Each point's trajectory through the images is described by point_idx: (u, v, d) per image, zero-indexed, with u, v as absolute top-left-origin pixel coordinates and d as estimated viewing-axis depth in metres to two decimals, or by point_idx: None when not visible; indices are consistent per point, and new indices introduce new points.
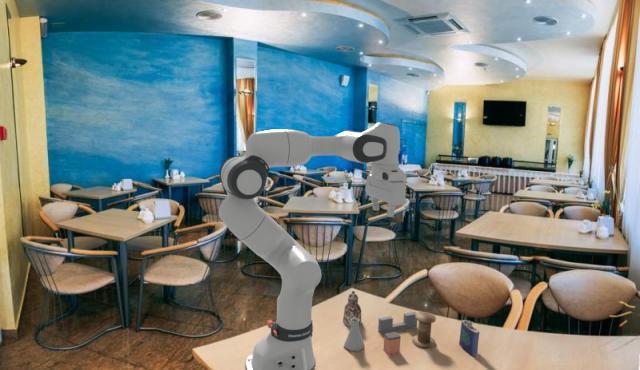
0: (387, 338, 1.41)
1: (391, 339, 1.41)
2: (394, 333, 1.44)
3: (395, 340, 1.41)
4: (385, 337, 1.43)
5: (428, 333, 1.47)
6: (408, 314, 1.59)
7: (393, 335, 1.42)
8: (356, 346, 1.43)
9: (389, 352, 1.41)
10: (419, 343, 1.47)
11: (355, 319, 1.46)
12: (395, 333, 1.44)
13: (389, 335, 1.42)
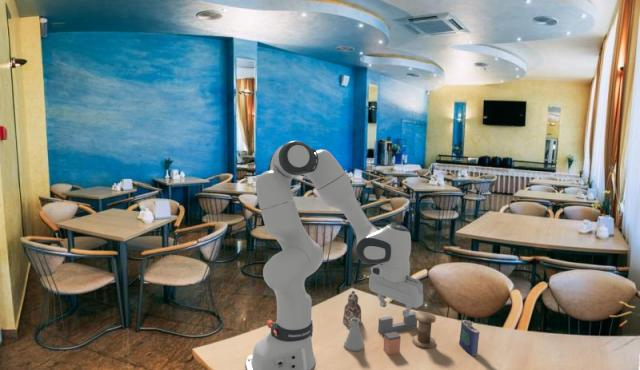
0: (387, 338, 1.41)
1: (391, 339, 1.41)
2: (394, 333, 1.44)
3: (395, 340, 1.41)
4: (385, 337, 1.43)
5: (428, 333, 1.47)
6: None
7: (393, 335, 1.42)
8: (356, 346, 1.43)
9: (389, 352, 1.41)
10: (419, 343, 1.47)
11: (355, 319, 1.46)
12: (395, 333, 1.44)
13: (389, 335, 1.42)
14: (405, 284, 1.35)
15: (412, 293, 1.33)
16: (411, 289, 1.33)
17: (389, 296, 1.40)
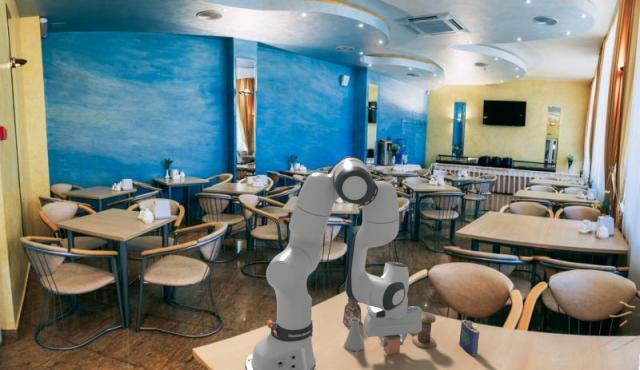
0: (387, 338, 1.41)
1: (391, 339, 1.41)
2: None
3: (395, 340, 1.41)
4: (385, 337, 1.43)
5: (428, 333, 1.47)
6: None
7: (393, 335, 1.42)
8: (356, 346, 1.43)
9: (389, 352, 1.41)
10: (419, 343, 1.47)
11: (355, 319, 1.46)
12: None
13: (389, 335, 1.42)
14: (409, 315, 1.41)
15: (417, 320, 1.42)
16: (416, 317, 1.41)
17: (391, 333, 1.40)
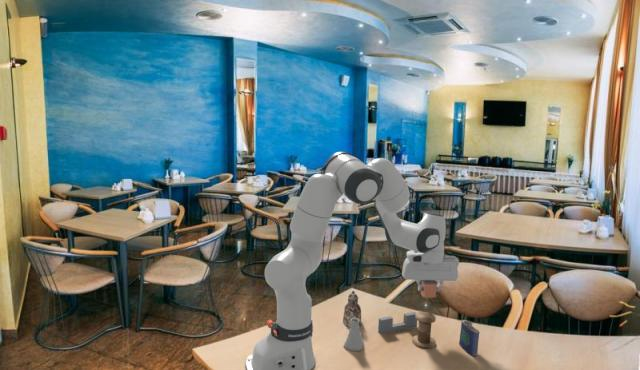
0: (424, 282, 1.54)
1: (427, 283, 1.53)
2: None
3: (431, 285, 1.54)
4: (422, 282, 1.56)
5: (428, 333, 1.47)
6: (408, 314, 1.59)
7: (430, 281, 1.54)
8: (356, 346, 1.43)
9: (425, 295, 1.54)
10: (419, 343, 1.47)
11: (355, 319, 1.46)
12: None
13: (426, 280, 1.55)
14: (445, 263, 1.52)
15: (453, 269, 1.52)
16: (452, 265, 1.52)
17: (428, 278, 1.53)
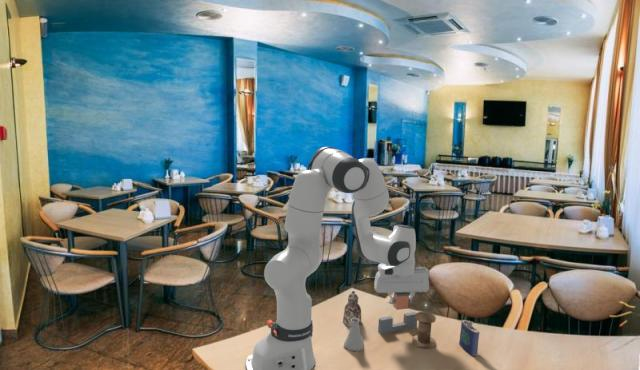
0: (396, 294, 1.54)
1: (399, 295, 1.54)
2: None
3: (403, 297, 1.54)
4: (394, 294, 1.56)
5: (428, 333, 1.47)
6: (408, 314, 1.59)
7: (402, 293, 1.55)
8: (356, 346, 1.43)
9: (397, 307, 1.54)
10: (419, 343, 1.47)
11: (355, 319, 1.46)
12: None
13: (398, 292, 1.55)
14: (416, 274, 1.53)
15: (424, 280, 1.53)
16: (423, 276, 1.53)
17: (400, 290, 1.53)
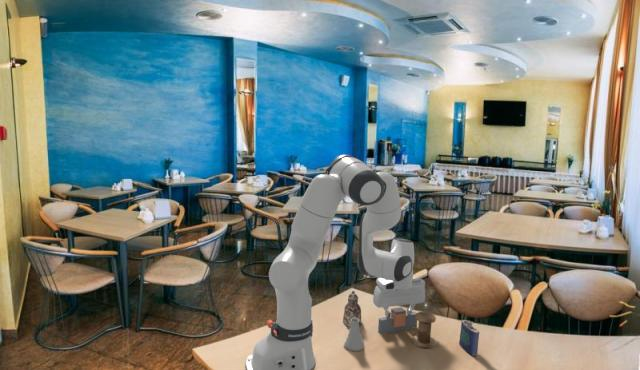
0: (394, 312, 1.56)
1: (397, 313, 1.55)
2: (400, 308, 1.58)
3: (401, 314, 1.56)
4: (392, 312, 1.57)
5: (428, 333, 1.47)
6: None
7: (399, 310, 1.56)
8: (356, 346, 1.43)
9: (396, 325, 1.56)
10: (419, 343, 1.47)
11: (355, 319, 1.46)
12: (401, 308, 1.58)
13: (396, 310, 1.57)
14: (414, 286, 1.55)
15: (421, 291, 1.56)
16: (420, 288, 1.56)
17: (399, 304, 1.54)
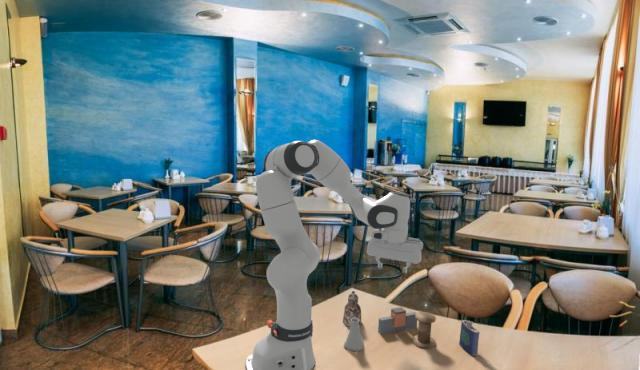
0: (394, 312, 1.56)
1: (397, 313, 1.55)
2: (400, 308, 1.58)
3: (401, 314, 1.56)
4: (392, 312, 1.57)
5: (428, 333, 1.47)
6: (408, 314, 1.59)
7: (399, 310, 1.56)
8: (356, 346, 1.43)
9: (396, 325, 1.56)
10: (419, 343, 1.47)
11: (355, 319, 1.46)
12: (401, 308, 1.58)
13: (396, 310, 1.57)
14: (407, 244, 1.52)
15: (415, 251, 1.51)
16: (414, 247, 1.51)
17: (389, 257, 1.55)
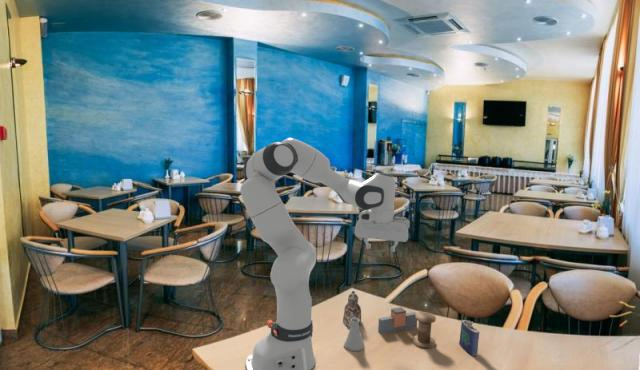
0: (394, 312, 1.56)
1: (397, 313, 1.55)
2: (400, 308, 1.58)
3: (401, 314, 1.56)
4: (392, 312, 1.57)
5: (428, 333, 1.47)
6: (408, 314, 1.59)
7: (399, 310, 1.56)
8: (356, 346, 1.43)
9: (396, 325, 1.56)
10: (419, 343, 1.47)
11: (355, 319, 1.46)
12: (401, 308, 1.58)
13: (396, 310, 1.57)
14: (394, 223, 1.55)
15: (402, 229, 1.55)
16: (401, 226, 1.55)
17: (377, 237, 1.58)
